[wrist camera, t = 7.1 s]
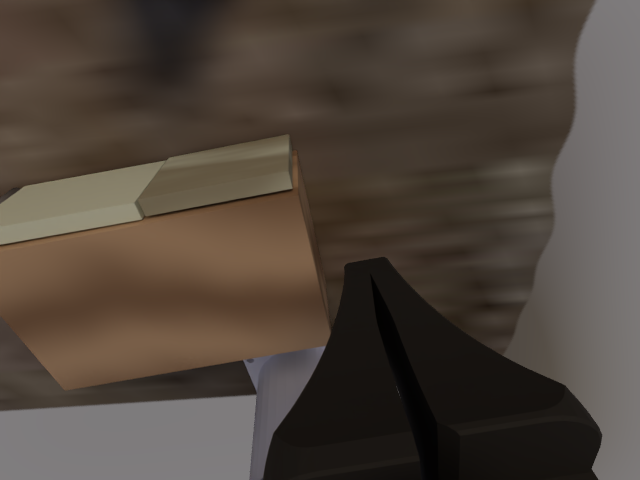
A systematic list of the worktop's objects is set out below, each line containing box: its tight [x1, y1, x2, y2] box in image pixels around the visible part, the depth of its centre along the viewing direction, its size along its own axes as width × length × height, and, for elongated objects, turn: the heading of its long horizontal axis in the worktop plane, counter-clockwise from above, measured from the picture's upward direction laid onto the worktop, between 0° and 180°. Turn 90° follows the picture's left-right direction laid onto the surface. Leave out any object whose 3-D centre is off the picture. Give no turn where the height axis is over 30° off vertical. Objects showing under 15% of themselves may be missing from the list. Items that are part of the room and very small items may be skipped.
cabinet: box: [0, 134, 331, 390], centre depth 21 cm, size 10×15×5 cm, turn 100°
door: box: [0, 161, 166, 245], centre depth 18 cm, size 1×9×5 cm, turn 99°
